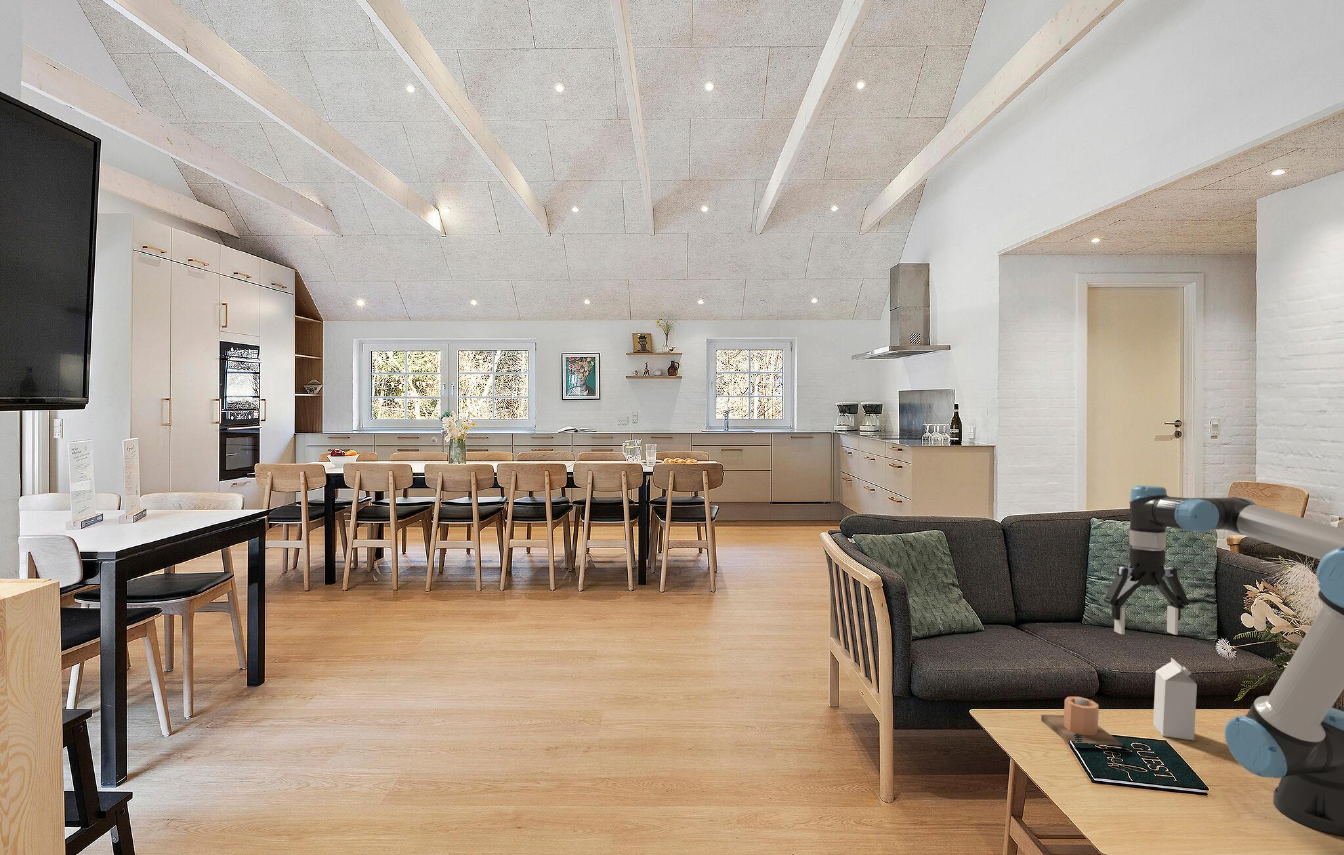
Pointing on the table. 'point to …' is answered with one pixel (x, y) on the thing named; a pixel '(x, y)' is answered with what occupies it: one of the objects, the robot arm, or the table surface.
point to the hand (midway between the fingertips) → (1145, 633)
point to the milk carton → (1175, 702)
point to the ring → (1081, 716)
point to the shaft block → (1058, 726)
